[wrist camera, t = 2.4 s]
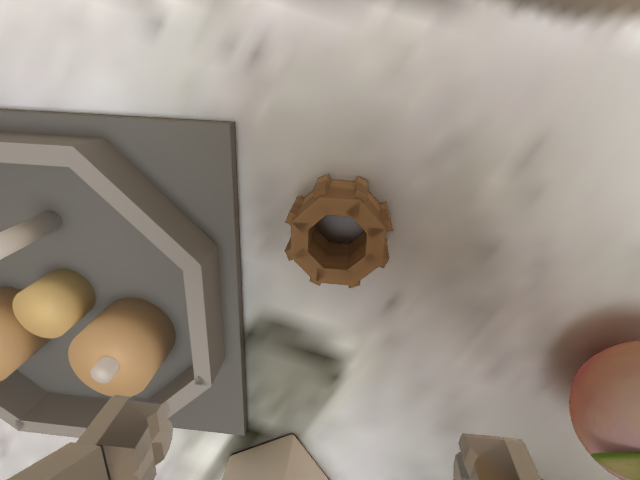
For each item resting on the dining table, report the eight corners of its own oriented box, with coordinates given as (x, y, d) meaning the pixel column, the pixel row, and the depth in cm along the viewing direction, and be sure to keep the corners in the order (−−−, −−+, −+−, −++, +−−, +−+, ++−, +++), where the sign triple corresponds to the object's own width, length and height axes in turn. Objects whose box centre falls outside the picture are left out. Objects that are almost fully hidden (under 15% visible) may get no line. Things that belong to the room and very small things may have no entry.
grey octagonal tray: (234, 121, 25) (198, 136, 19) (247, 426, 35) (226, 492, 30) (-144, 101, 27) (-274, 109, 21) (-27, 395, 37) (-94, 452, 32)
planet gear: (392, 176, 25) (397, 194, 22) (382, 264, 28) (385, 294, 24) (294, 170, 26) (284, 187, 22) (293, 257, 28) (283, 285, 25)
